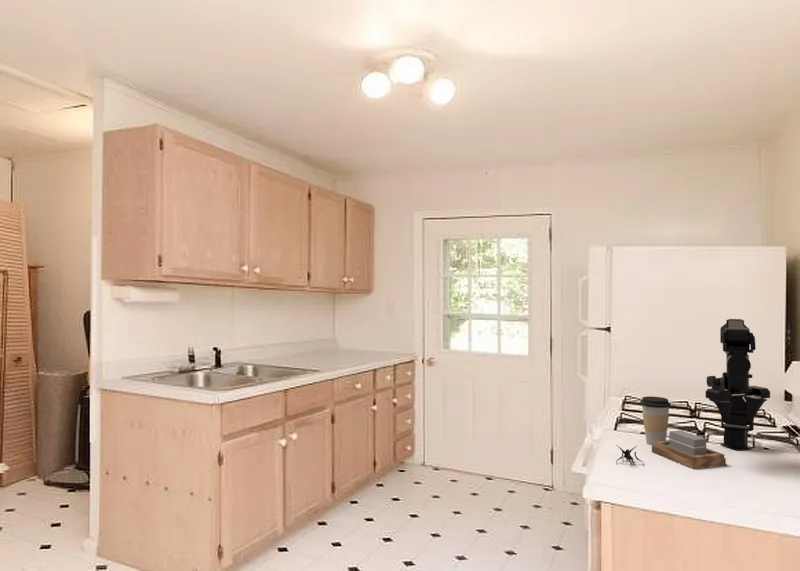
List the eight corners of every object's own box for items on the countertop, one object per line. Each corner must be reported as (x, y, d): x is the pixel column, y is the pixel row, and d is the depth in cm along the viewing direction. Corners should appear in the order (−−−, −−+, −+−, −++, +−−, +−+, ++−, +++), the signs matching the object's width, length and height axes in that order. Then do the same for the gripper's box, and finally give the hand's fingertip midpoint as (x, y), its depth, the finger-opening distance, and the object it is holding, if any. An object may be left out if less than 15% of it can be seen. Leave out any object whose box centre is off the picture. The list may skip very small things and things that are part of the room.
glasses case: (680, 445, 171) (680, 430, 171) (706, 455, 161) (706, 438, 161) (669, 447, 170) (669, 431, 170) (694, 456, 160) (694, 439, 160)
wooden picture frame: (682, 448, 175) (682, 439, 175) (725, 465, 159) (725, 454, 159) (651, 452, 172) (651, 442, 172) (692, 468, 156) (692, 457, 156)
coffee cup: (674, 448, 176) (674, 402, 176) (643, 446, 178) (643, 401, 178) (666, 440, 185) (666, 396, 185) (637, 438, 187) (637, 395, 187)
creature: (646, 472, 157) (639, 457, 165) (647, 455, 156) (640, 441, 164) (618, 470, 158) (612, 456, 166) (619, 454, 157) (613, 440, 165)
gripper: (739, 365, 172) (739, 413, 172) (691, 367, 167) (691, 417, 167) (771, 370, 162) (771, 422, 162) (720, 373, 157) (721, 426, 157)
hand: (737, 422), depth 162 cm, fingers open, 9 cm apart
